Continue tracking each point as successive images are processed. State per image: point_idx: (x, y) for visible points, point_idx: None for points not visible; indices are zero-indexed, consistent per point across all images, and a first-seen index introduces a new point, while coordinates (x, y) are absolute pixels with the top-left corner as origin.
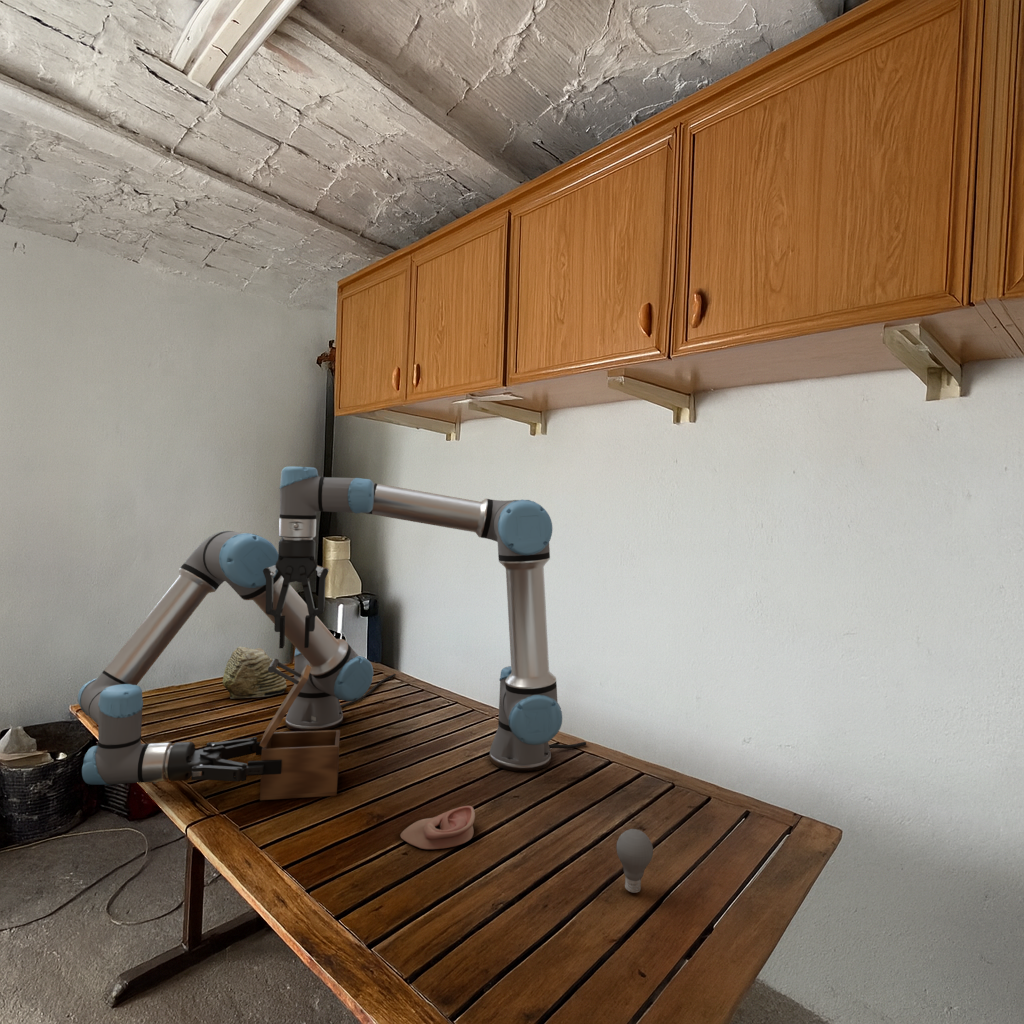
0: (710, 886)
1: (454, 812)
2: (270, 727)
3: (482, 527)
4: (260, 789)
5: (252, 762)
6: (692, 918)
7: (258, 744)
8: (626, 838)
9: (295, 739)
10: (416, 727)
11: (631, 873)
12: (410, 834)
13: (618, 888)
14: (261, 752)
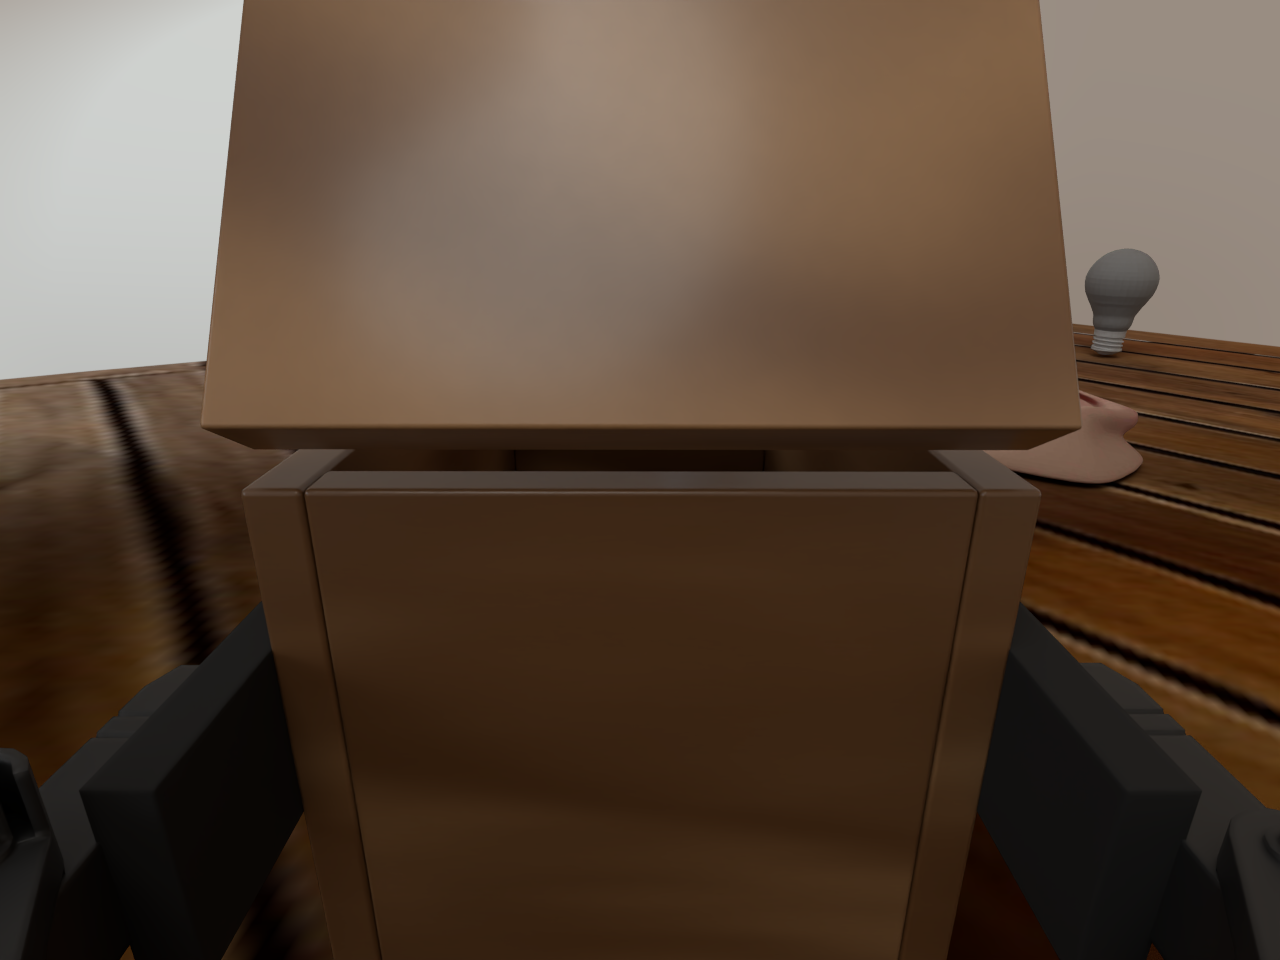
0: None
1: None
2: (1011, 98)
3: None
4: None
5: (1141, 734)
6: (1141, 345)
7: (191, 781)
8: (1145, 258)
9: (436, 457)
10: (101, 445)
11: (1134, 316)
12: (1105, 455)
13: (1103, 360)
14: (252, 857)
